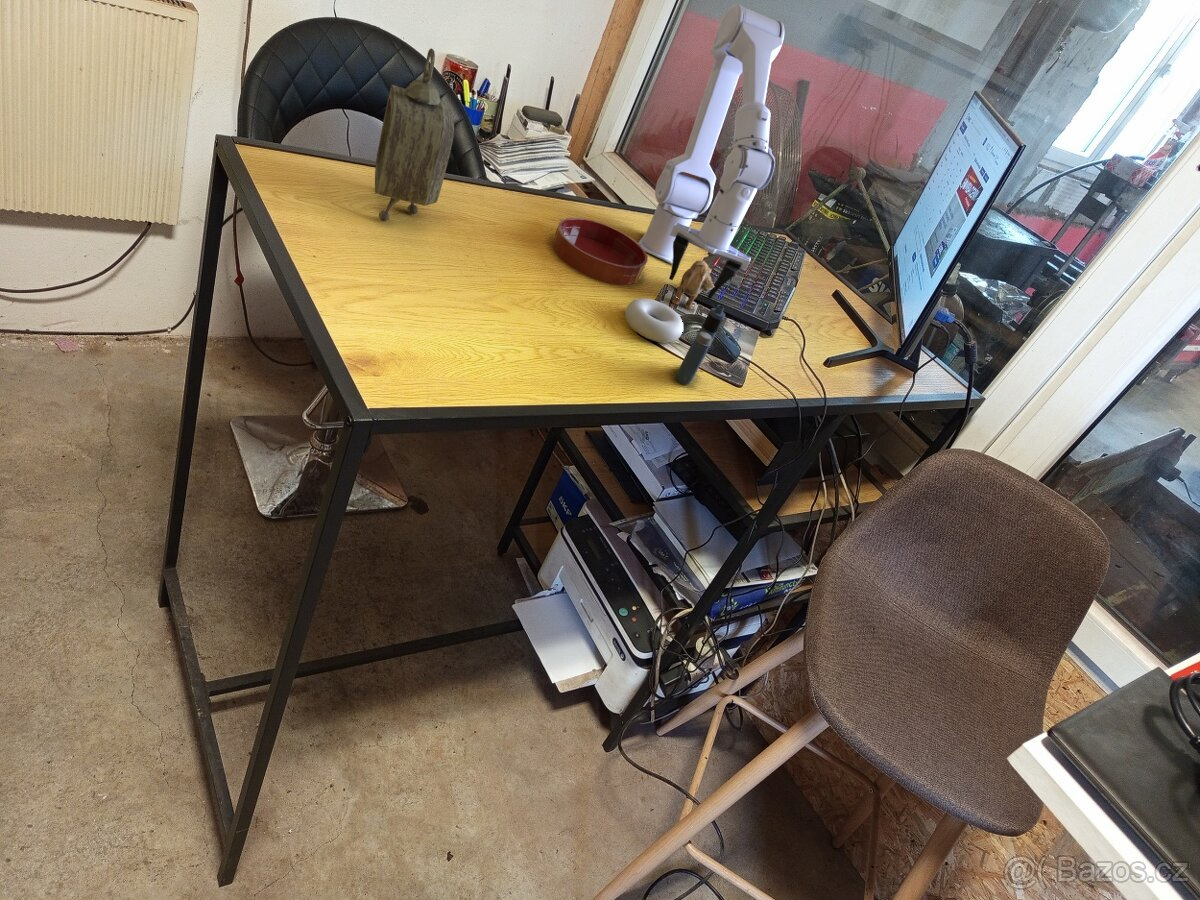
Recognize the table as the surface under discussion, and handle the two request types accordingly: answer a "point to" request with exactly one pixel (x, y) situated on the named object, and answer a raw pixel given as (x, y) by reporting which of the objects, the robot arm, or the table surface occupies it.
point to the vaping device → (700, 345)
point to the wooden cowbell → (414, 144)
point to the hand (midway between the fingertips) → (690, 287)
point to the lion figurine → (694, 282)
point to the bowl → (599, 251)
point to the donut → (654, 320)
